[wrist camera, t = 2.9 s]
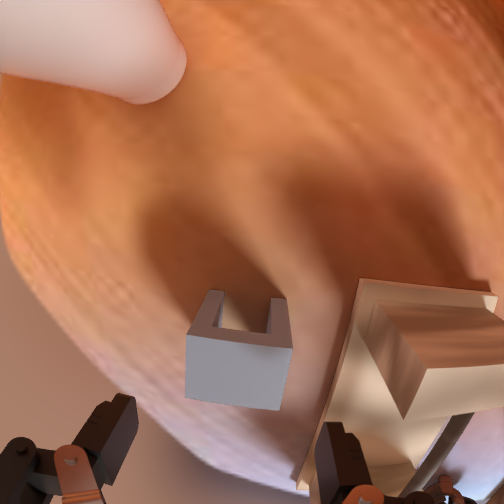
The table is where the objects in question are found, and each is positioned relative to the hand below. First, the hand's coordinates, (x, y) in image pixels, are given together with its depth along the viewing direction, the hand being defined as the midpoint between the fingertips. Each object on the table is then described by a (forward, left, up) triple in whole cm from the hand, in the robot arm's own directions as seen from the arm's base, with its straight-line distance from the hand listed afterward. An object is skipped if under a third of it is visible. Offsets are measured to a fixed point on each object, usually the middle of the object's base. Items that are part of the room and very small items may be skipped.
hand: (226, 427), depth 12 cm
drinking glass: (-16, -8, -10) cm, 21 cm away
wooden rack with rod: (+7, +13, -9) cm, 17 cm away
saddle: (0, 0, -10) cm, 9 cm away
